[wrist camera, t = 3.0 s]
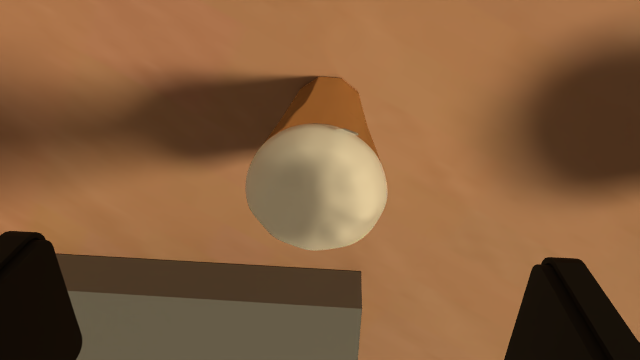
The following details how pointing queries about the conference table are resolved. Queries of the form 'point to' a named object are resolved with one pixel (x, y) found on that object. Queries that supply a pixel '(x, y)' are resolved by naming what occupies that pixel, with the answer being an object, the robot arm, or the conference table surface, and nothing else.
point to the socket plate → (211, 310)
